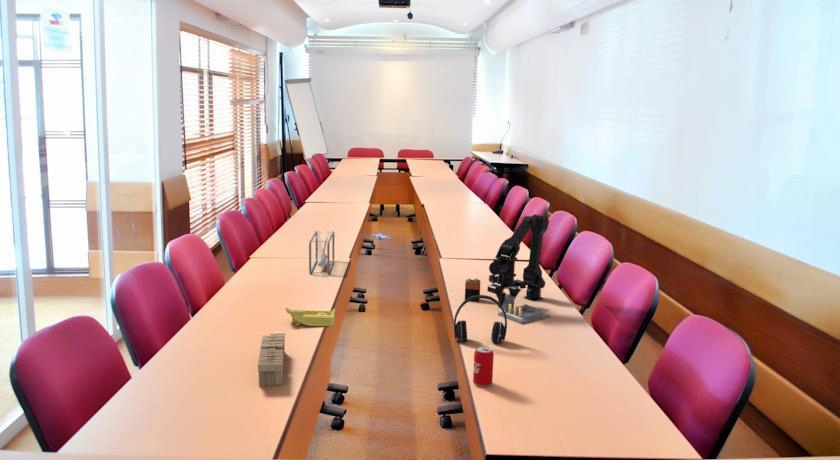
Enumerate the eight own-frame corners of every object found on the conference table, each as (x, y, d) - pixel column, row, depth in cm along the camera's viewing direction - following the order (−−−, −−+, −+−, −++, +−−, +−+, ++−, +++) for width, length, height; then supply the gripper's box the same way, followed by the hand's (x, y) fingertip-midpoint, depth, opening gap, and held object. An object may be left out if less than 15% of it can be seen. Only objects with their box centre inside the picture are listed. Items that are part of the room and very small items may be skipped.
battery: (479, 301, 305) (480, 280, 303) (464, 300, 306) (465, 279, 304) (479, 299, 309) (480, 278, 307) (465, 298, 310) (465, 277, 308)
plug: (504, 306, 299) (505, 293, 298) (513, 309, 295) (514, 296, 294) (497, 307, 297) (498, 294, 296) (507, 311, 292) (507, 297, 291)
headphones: (504, 339, 257) (507, 293, 254) (506, 345, 250) (509, 299, 247) (453, 337, 258) (454, 292, 254) (453, 343, 251) (455, 297, 248)
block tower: (262, 356, 237) (257, 388, 208) (262, 333, 235) (256, 362, 207) (285, 355, 238) (282, 387, 210) (285, 332, 237) (282, 361, 208)
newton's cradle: (315, 261, 373) (315, 229, 370) (334, 261, 374) (334, 230, 370) (309, 274, 344) (308, 241, 340) (329, 275, 344) (329, 241, 341)
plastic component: (333, 311, 278) (335, 308, 268) (332, 329, 276) (335, 326, 266) (284, 310, 273) (285, 306, 264) (283, 328, 271) (284, 325, 262)
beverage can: (479, 378, 220) (480, 344, 218) (495, 383, 217) (497, 348, 214) (469, 384, 215) (470, 349, 213) (486, 389, 212) (487, 354, 209)
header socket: (525, 308, 296) (526, 296, 295) (549, 317, 286) (550, 304, 285) (498, 315, 286) (498, 302, 285) (521, 324, 275) (522, 311, 274)
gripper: (509, 264, 305) (508, 297, 307) (479, 270, 293) (478, 303, 296) (527, 269, 296) (525, 303, 299) (497, 275, 285) (495, 310, 288)
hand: (505, 305), depth 296 cm, fingers open, 6 cm apart
